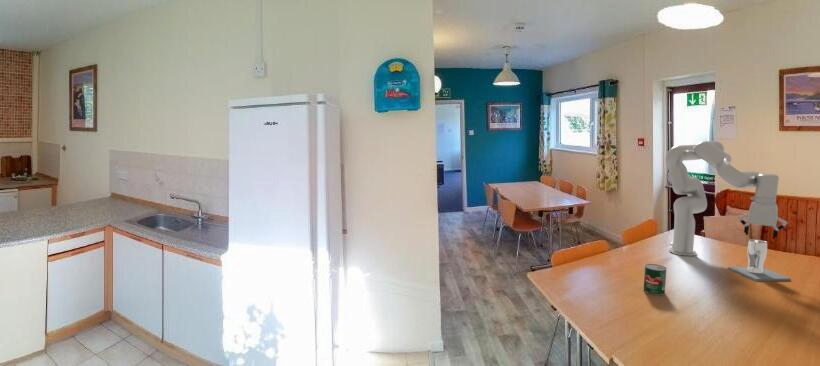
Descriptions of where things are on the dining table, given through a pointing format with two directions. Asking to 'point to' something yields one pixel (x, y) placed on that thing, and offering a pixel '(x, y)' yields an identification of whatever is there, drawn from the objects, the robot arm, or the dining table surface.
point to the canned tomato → (655, 279)
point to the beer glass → (756, 256)
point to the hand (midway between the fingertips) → (760, 236)
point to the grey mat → (765, 276)
